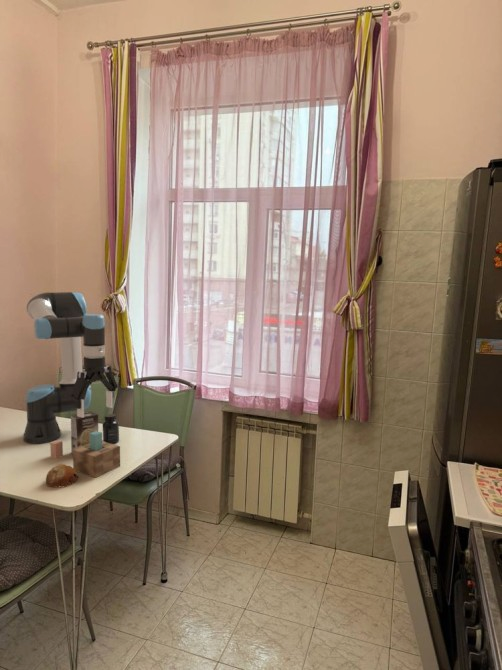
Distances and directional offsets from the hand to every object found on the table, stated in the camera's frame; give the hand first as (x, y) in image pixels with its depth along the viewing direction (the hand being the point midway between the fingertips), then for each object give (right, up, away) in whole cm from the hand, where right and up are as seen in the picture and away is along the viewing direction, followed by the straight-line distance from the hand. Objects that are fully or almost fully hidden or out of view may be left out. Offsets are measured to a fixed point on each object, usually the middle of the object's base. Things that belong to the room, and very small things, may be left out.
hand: (95, 411), depth 169 cm
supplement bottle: (-3, -18, +30) cm, 35 cm away
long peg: (0, -22, +2) cm, 22 cm away
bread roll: (-9, -24, -8) cm, 27 cm away
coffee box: (-10, -20, +17) cm, 28 cm away
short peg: (-20, -20, +13) cm, 31 cm away
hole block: (0, -22, +3) cm, 22 cm away
